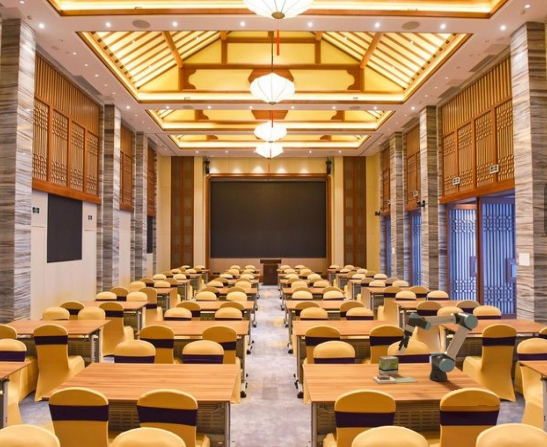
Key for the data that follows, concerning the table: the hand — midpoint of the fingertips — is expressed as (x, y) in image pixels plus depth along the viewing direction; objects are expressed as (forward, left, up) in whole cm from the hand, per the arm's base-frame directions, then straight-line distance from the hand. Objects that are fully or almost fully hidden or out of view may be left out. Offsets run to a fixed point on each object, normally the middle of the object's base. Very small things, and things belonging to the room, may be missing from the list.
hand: (399, 354), depth 407 cm
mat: (-9, -11, -25) cm, 29 cm away
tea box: (-4, -33, -25) cm, 42 cm away
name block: (+10, -11, -23) cm, 28 cm away
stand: (+9, -11, -25) cm, 29 cm away
